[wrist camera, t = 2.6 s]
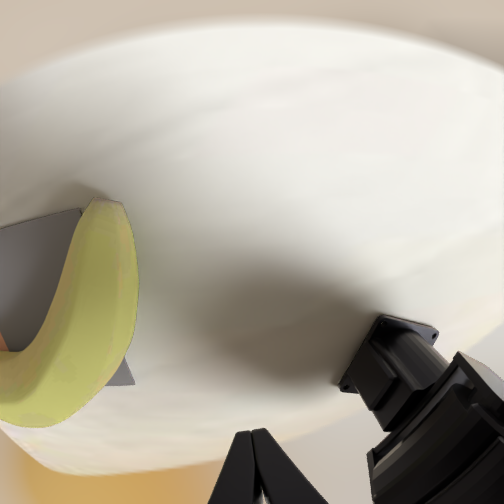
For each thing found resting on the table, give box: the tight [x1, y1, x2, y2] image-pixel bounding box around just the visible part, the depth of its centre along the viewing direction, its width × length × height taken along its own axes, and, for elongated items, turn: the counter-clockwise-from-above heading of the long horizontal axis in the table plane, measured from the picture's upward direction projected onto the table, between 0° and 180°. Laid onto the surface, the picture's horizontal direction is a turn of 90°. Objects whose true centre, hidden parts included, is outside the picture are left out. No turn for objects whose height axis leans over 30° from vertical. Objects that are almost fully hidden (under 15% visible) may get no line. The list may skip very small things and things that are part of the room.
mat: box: [0, 208, 135, 386], centre depth 16 cm, size 10×12×1 cm
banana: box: [0, 198, 139, 428], centre depth 14 cm, size 14×6×20 cm
